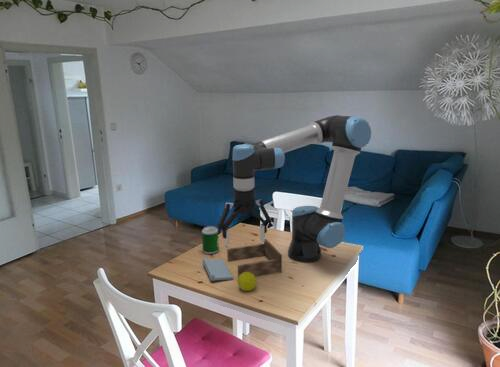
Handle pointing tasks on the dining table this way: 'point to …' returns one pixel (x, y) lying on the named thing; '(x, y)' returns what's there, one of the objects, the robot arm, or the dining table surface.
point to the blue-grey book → (217, 269)
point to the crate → (256, 251)
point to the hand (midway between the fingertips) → (245, 243)
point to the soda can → (210, 240)
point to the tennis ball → (247, 281)
